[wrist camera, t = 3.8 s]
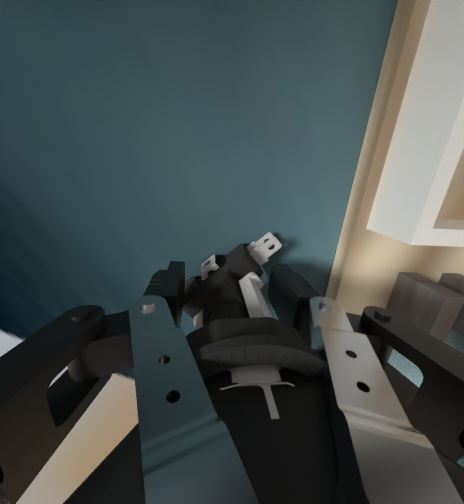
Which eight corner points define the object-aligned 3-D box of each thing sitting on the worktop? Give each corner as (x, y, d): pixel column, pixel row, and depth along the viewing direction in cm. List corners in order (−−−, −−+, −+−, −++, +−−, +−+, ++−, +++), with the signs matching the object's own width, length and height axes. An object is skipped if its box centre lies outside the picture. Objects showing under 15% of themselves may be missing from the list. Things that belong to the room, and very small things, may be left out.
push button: (245, 201, 13) (353, 287, 3) (294, 263, 15) (454, 430, 5) (161, 272, 14) (72, 491, 4) (218, 323, 16) (239, 553, 6)
